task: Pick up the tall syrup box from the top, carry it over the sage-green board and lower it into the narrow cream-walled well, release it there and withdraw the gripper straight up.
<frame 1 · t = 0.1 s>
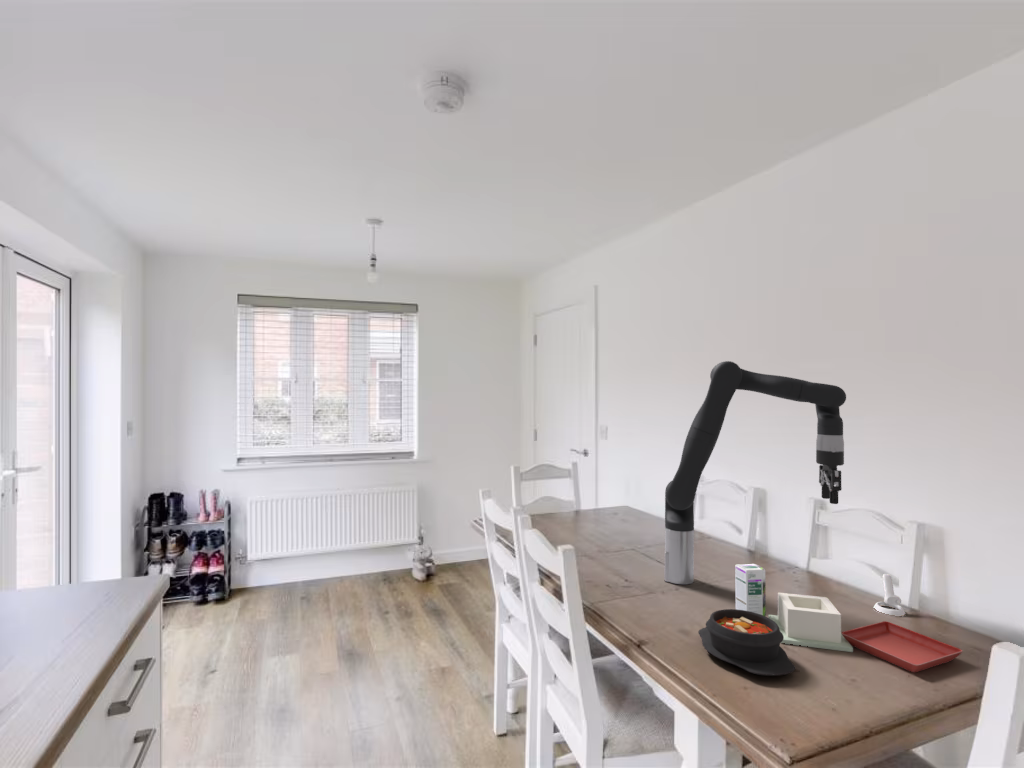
hand: (829, 501, 171), 29 cm above the table, tool pointing down, fingers open, 8 cm apart
casserole: (743, 657, 129), on the table
syrup box: (750, 619, 151), on the table
plant saucer: (899, 655, 132), on the table, touching well
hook: (889, 612, 158), on the table
well: (807, 633, 142), on the table
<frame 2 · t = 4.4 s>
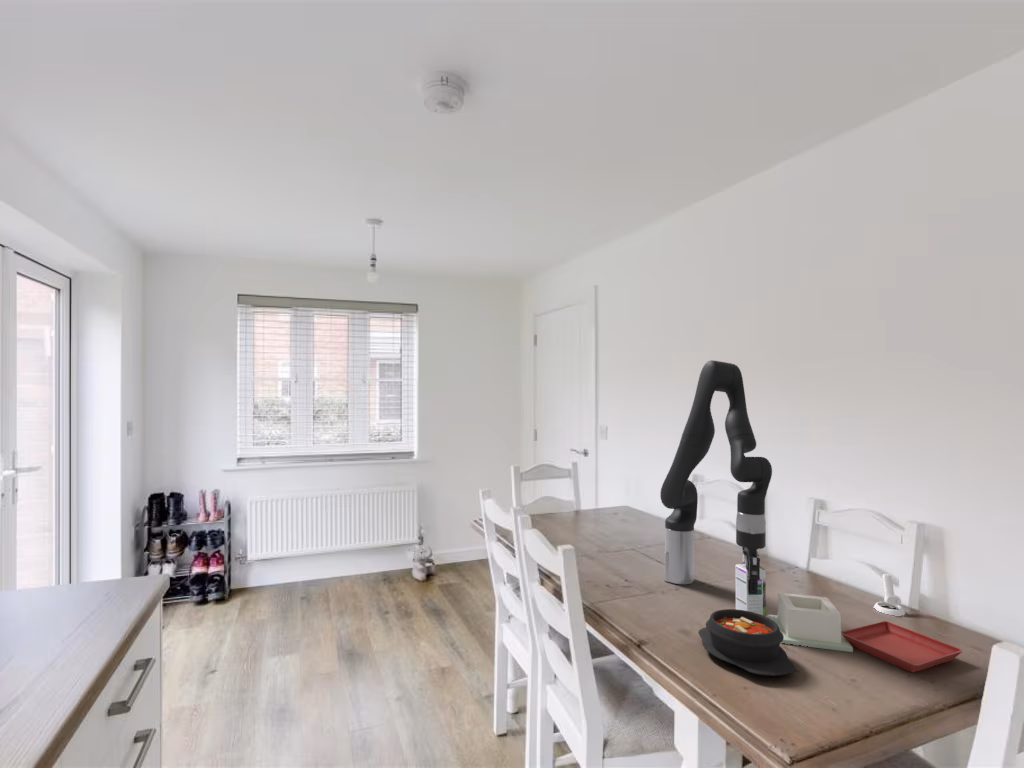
hand: (750, 588, 151), 8 cm above the table, tool pointing down, fingers closed on syrup box, 7 cm apart
syrup box: (750, 619, 151), on the table, touching gripper
plant saucer: (899, 654, 132), on the table
everything else where it was.
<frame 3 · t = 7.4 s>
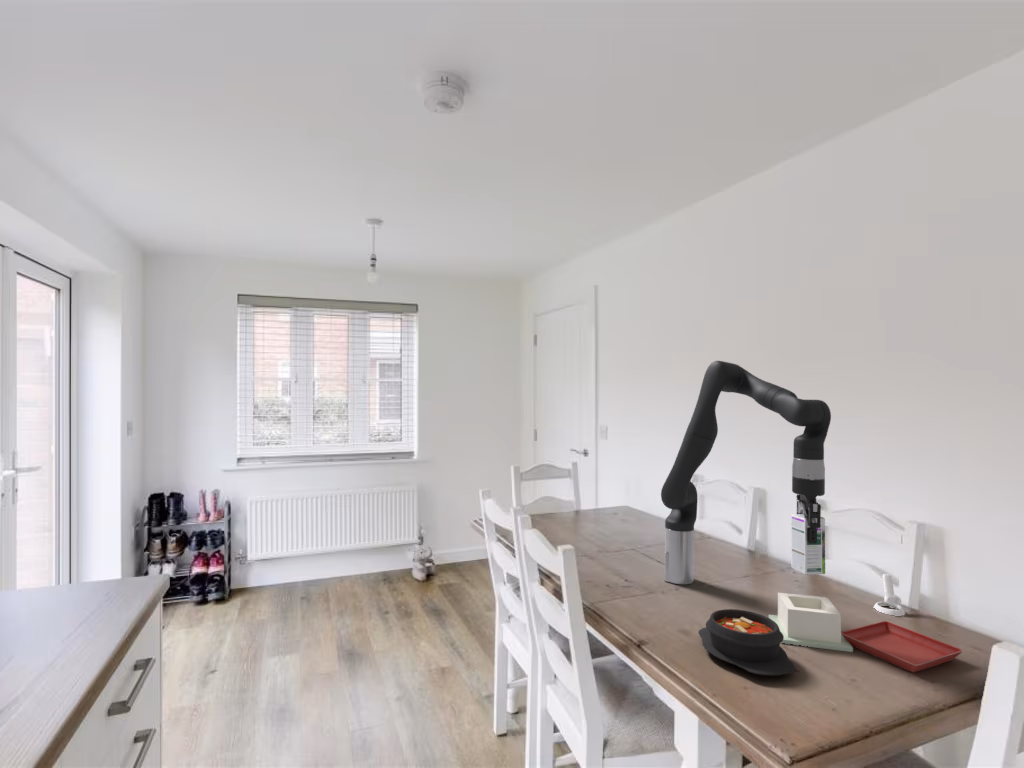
hand: (807, 538, 142), 25 cm above the table, tool pointing down, fingers closed on syrup box, 7 cm apart
syrup box: (807, 571, 142), point 16 cm above the table, touching gripper
plant saucer: (899, 655, 132), on the table, touching well
everything else where it was.
when the fingers open (11 cm above the table, at t = 10.8 s): syrup box drops 1 cm, resting on well.
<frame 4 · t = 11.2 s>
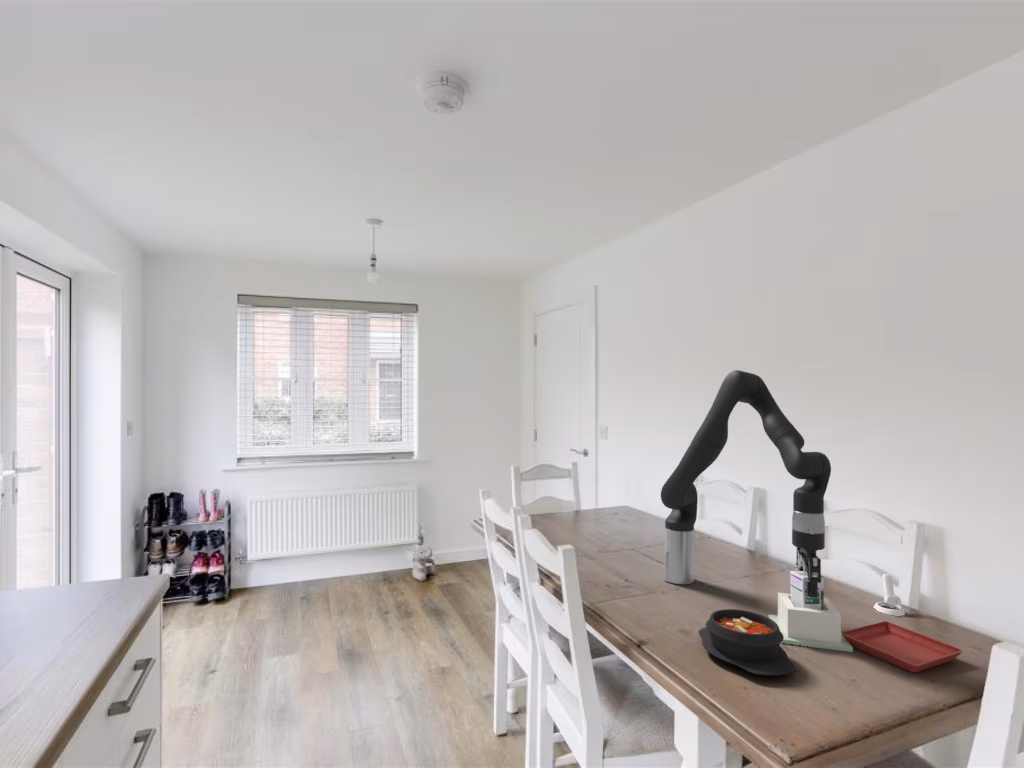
hand: (807, 591, 142), 11 cm above the table, tool pointing down, fingers open, 8 cm apart
syrup box: (806, 630, 142), point 1 cm above the table, touching well
everything else where it was.
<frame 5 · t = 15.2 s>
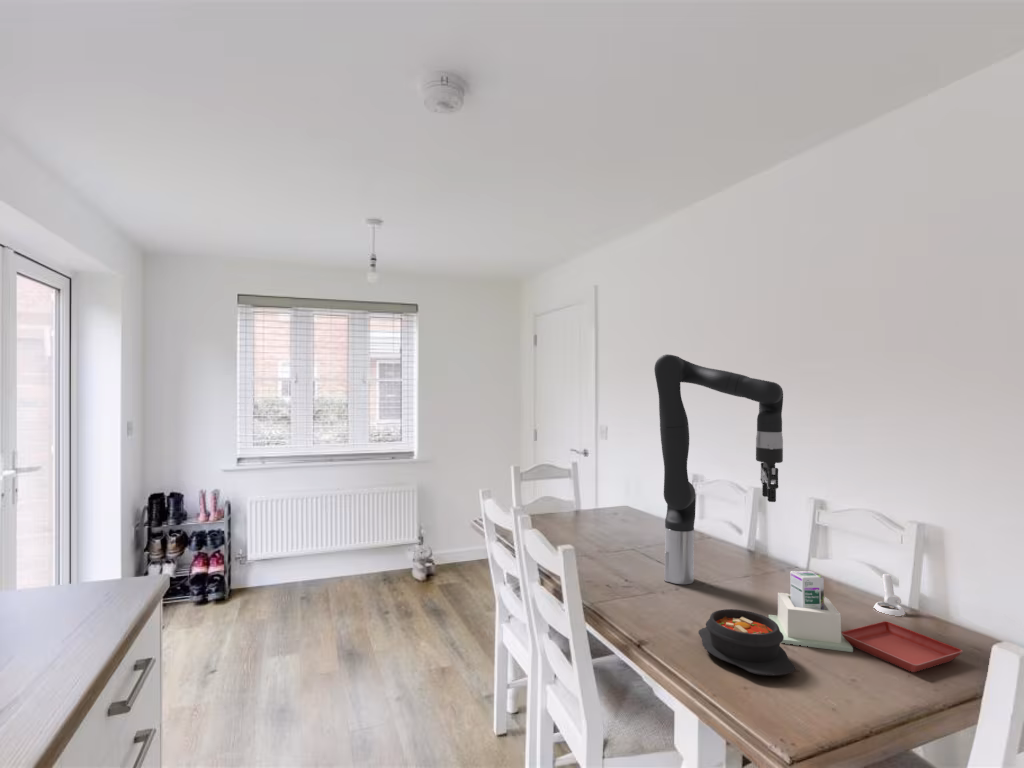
hand: (768, 499, 168), 30 cm above the table, tool pointing down, fingers open, 8 cm apart
plant saucer: (899, 655, 132), on the table
everything else where it was.
at the end: syrup box 0.5 cm off-centre on the well, point 0.8 cm above the well's base; syrup box tilted 0°; the gripper is holding nothing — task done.
